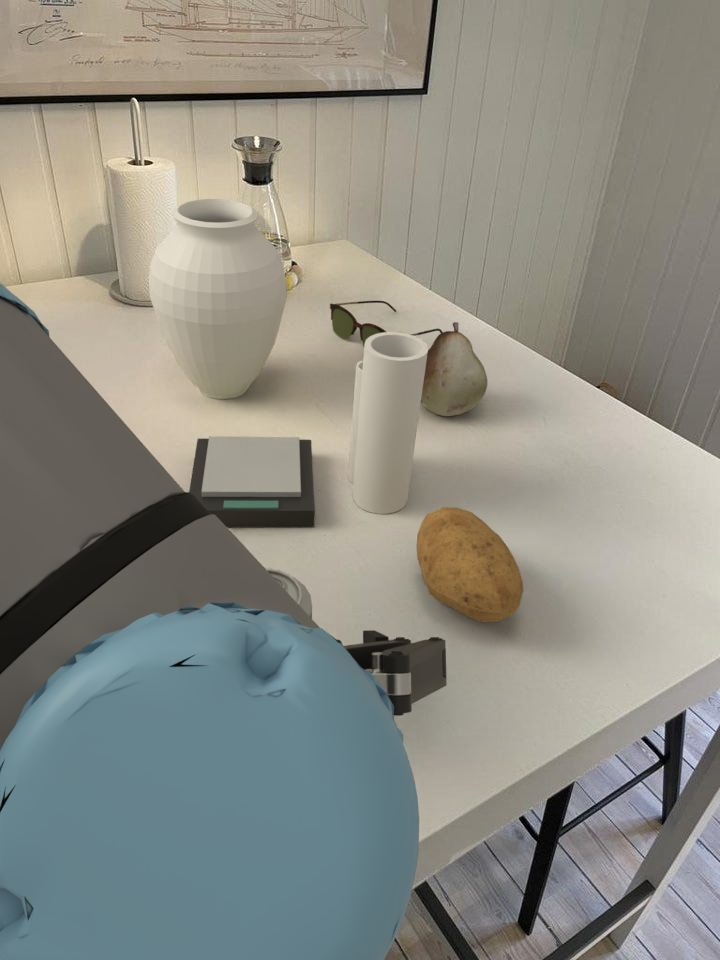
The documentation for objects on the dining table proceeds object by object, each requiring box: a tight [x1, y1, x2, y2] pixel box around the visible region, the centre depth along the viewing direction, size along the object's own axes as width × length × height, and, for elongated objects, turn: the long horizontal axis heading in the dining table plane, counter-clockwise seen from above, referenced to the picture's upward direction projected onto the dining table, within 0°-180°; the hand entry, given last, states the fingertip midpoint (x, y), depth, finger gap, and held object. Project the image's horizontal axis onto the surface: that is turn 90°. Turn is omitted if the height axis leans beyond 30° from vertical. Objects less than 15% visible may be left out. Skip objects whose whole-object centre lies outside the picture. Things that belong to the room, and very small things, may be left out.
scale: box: [188, 435, 316, 528], centre depth 89 cm, size 14×14×3 cm
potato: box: [416, 506, 524, 623], centre depth 75 cm, size 10×14×8 cm
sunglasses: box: [329, 300, 444, 348], centre depth 124 cm, size 14×15×5 cm
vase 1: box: [148, 198, 288, 400], centre depth 101 cm, size 18×18×25 cm
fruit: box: [421, 321, 488, 417], centre depth 104 cm, size 10×9×12 cm
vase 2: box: [347, 331, 429, 515], centre depth 86 cm, size 11×7×20 cm, turn 2°
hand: (262, 654), depth 48 cm, fingers open, 13 cm apart
